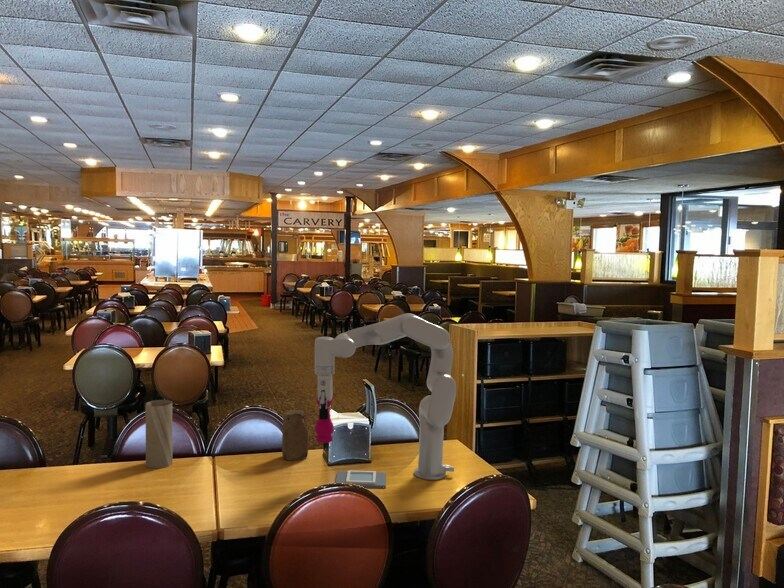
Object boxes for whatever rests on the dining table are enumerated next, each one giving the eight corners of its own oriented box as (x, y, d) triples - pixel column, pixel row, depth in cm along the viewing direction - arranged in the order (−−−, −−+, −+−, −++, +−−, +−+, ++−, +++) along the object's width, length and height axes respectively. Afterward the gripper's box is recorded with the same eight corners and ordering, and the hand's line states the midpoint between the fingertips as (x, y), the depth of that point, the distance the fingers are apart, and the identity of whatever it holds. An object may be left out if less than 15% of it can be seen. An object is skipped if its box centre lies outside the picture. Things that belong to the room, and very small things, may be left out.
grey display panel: (386, 474, 244) (386, 470, 244) (385, 488, 231) (385, 483, 231) (337, 473, 244) (338, 469, 244) (334, 486, 231) (335, 482, 231)
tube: (141, 463, 248) (140, 402, 246) (164, 457, 256) (164, 398, 253) (153, 470, 242) (153, 407, 239) (177, 464, 249) (177, 403, 247)
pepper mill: (318, 444, 231) (318, 392, 229) (312, 439, 238) (312, 387, 236) (336, 441, 234) (336, 390, 233) (329, 436, 241) (329, 386, 239)
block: (282, 461, 255) (282, 414, 254) (281, 455, 263) (282, 409, 261) (308, 460, 258) (309, 413, 256) (307, 454, 265) (308, 408, 263)
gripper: (332, 374, 225) (332, 423, 227) (336, 365, 242) (336, 410, 244) (311, 374, 225) (311, 423, 227) (317, 364, 242) (317, 410, 244)
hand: (324, 416), depth 235 cm, fingers closed on pepper mill, 5 cm apart
